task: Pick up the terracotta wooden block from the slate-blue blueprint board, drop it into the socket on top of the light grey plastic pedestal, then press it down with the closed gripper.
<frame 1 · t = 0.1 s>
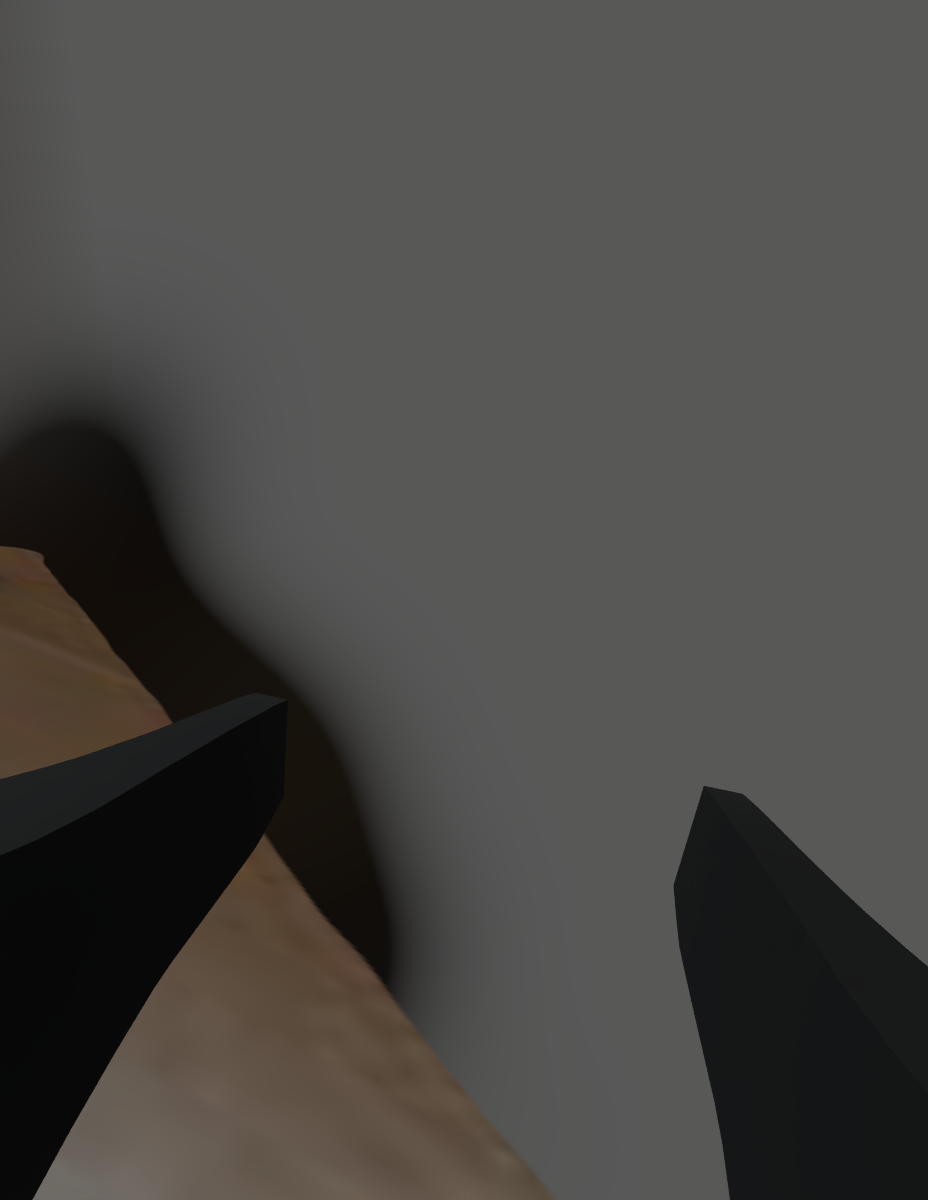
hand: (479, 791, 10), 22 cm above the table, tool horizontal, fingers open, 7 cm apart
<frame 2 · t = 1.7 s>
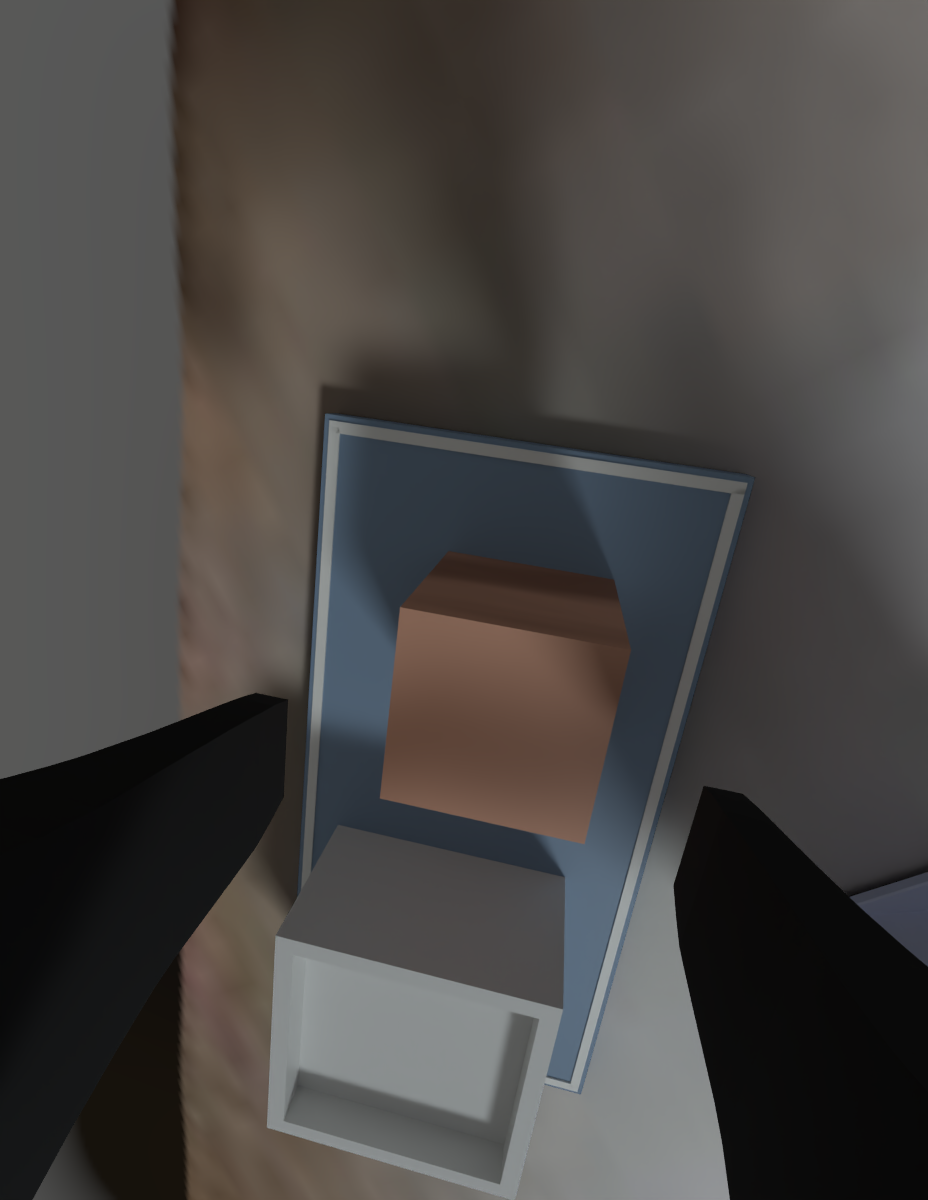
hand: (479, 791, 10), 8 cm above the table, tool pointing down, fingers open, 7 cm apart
blueprint board: (475, 789, 20), on the table
socket pedestal: (435, 939, 21), resting on blueprint board
terracotta block: (516, 641, 17), point 1 cm above the table, touching blueprint board
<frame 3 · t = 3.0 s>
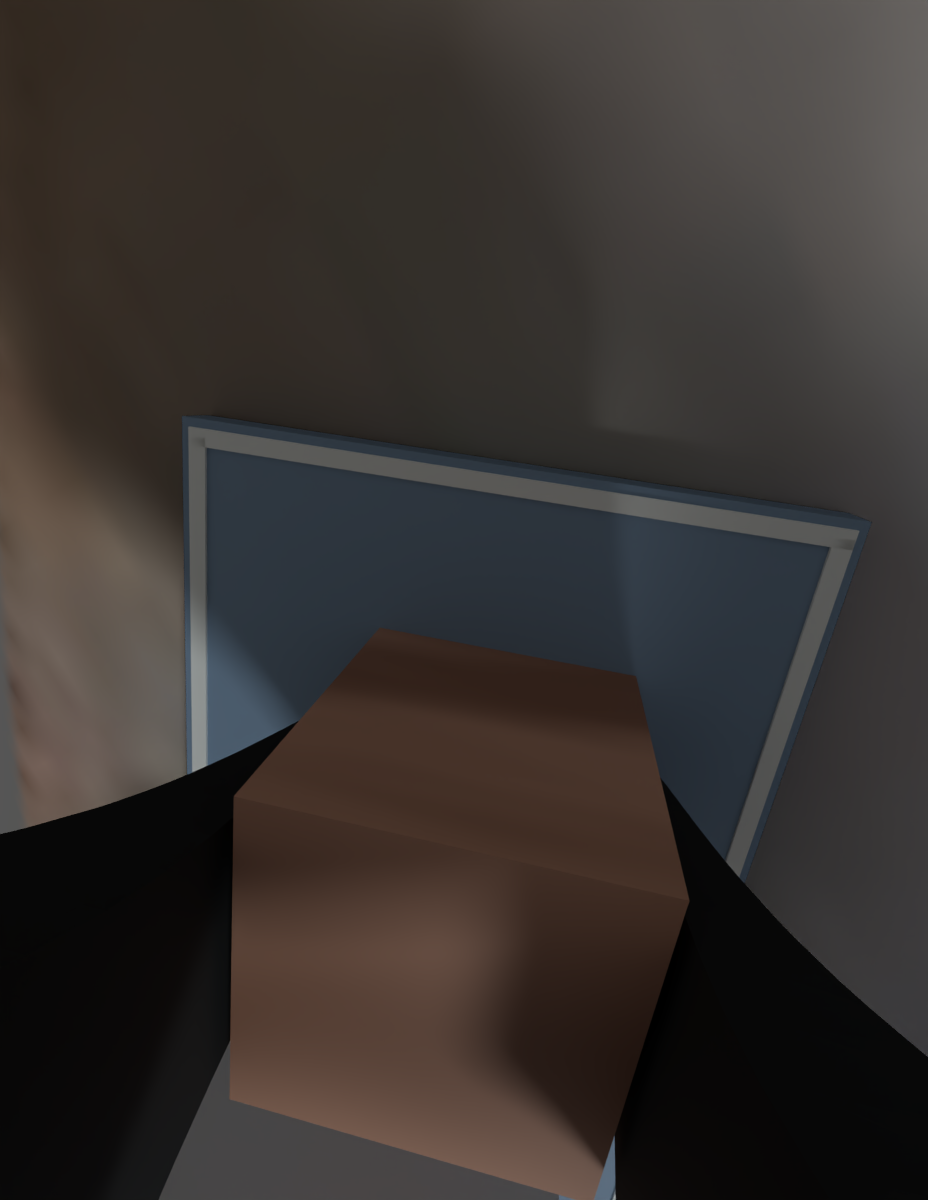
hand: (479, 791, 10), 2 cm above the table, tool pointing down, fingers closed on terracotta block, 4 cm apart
blueprint board: (433, 950, 14), on the table
socket pedestal: (380, 1145, 15), resting on blueprint board
terracotta block: (486, 762, 11), point 1 cm above the table, touching blueprint board, gripper
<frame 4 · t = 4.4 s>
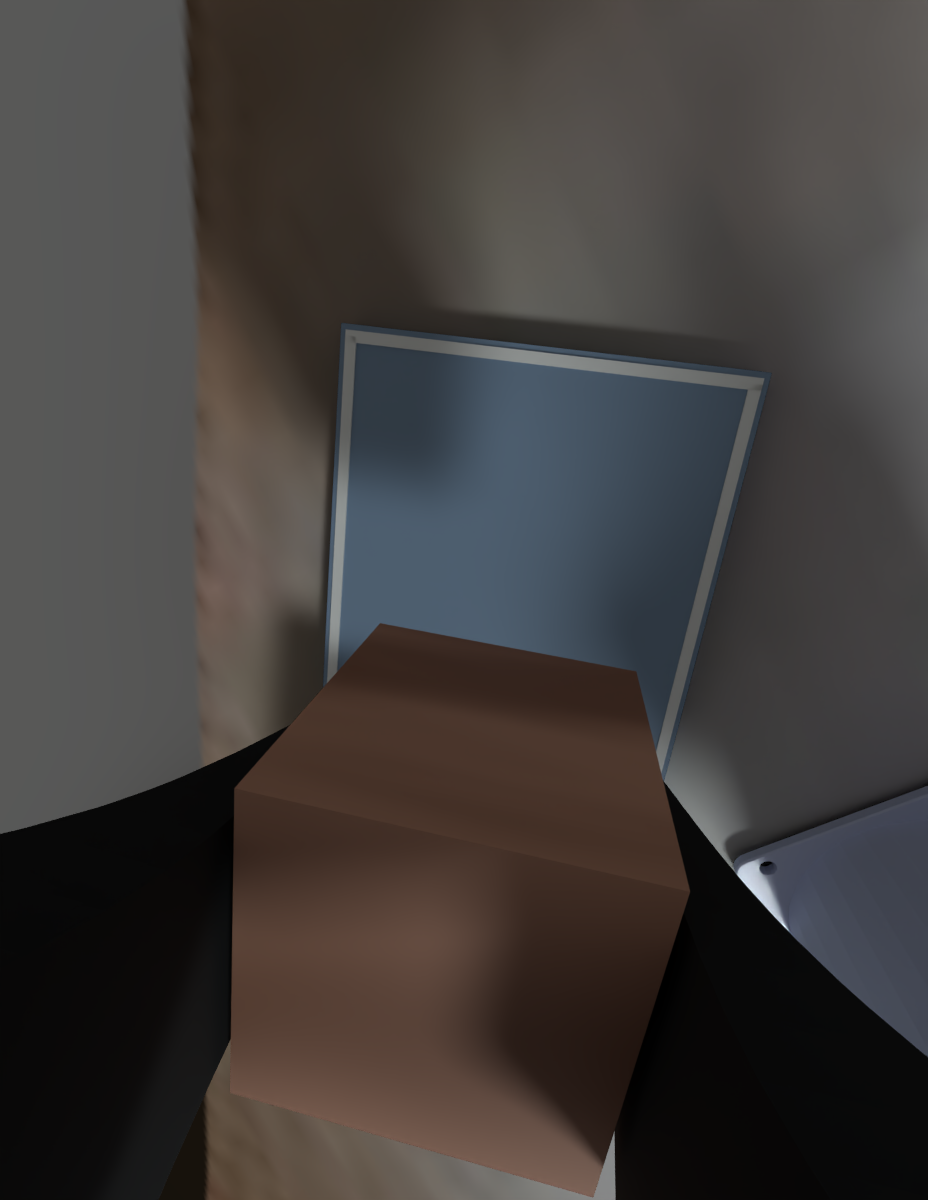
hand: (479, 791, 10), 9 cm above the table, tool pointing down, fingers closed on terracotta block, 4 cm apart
blueprint board: (493, 712, 20), on the table
terracotta block: (486, 757, 11), point 8 cm above the table, touching gripper
when the fingers open (7 cm above the table, at t = 5.8 s): terracotta block drops 1 cm, resting on socket pedestal.
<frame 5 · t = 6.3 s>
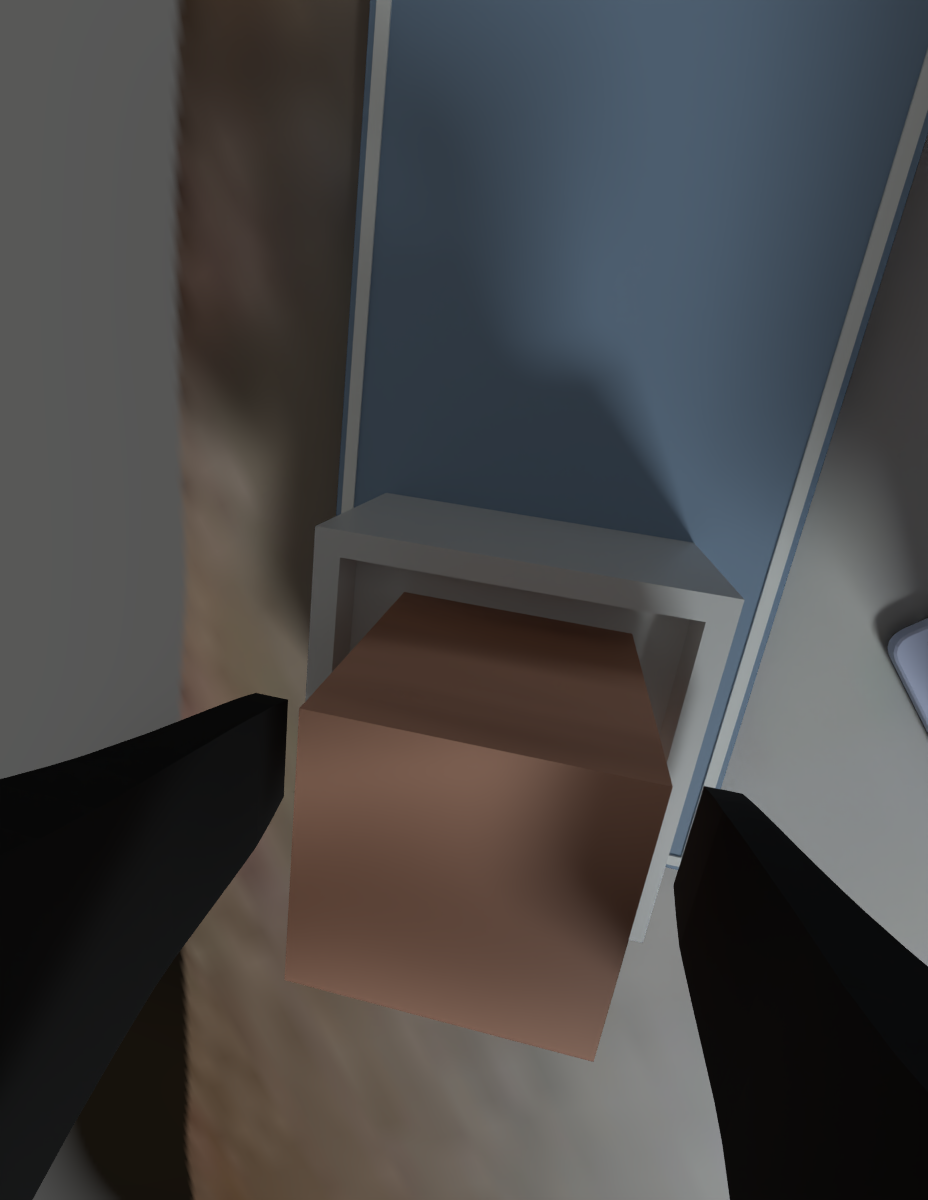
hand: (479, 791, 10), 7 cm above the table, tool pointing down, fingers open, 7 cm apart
blueprint board: (570, 438, 15), on the table
socket pedestal: (511, 657, 16), resting on blueprint board
terracotta block: (498, 713, 13), point 4 cm above the table, touching socket pedestal
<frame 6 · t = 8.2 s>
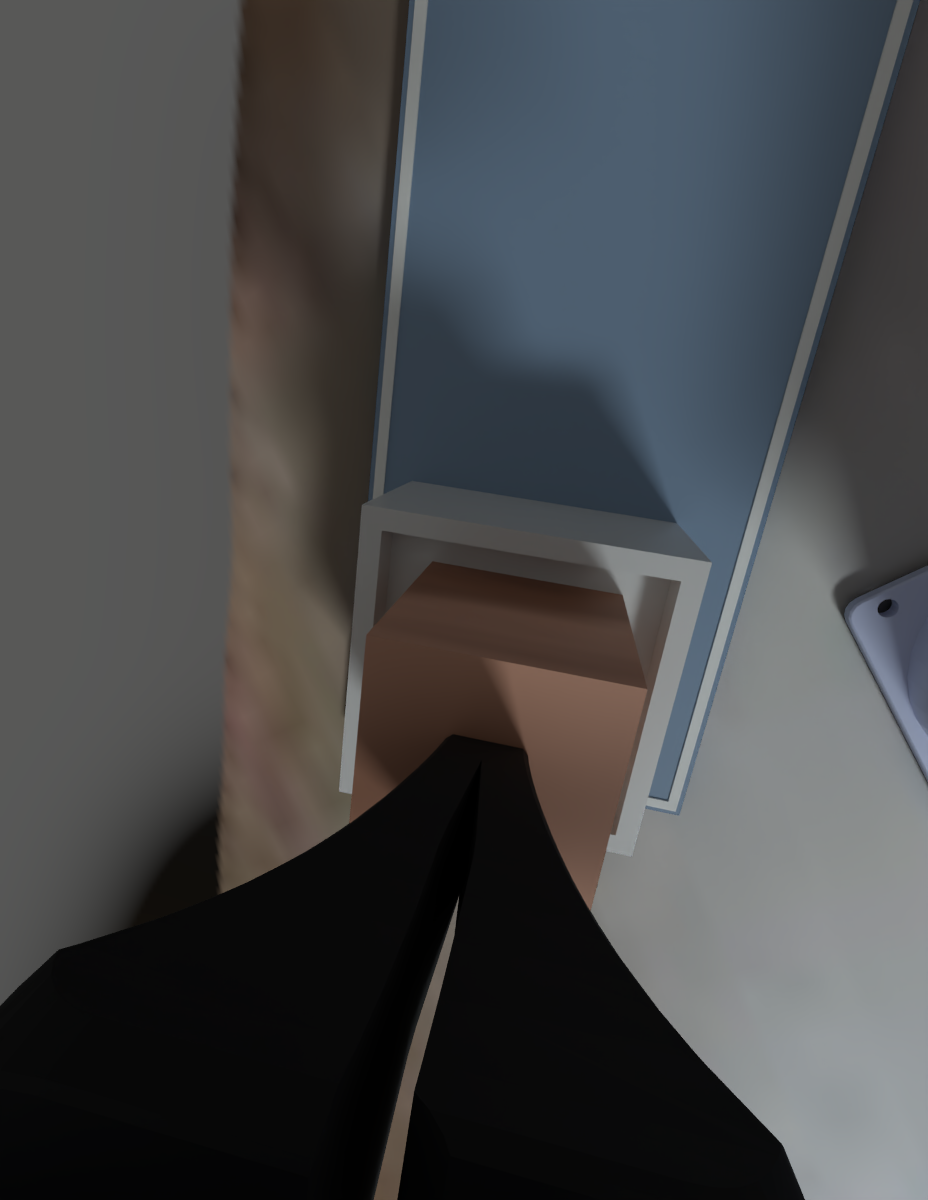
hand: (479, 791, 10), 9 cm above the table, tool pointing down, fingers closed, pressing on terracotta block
blueprint board: (571, 434, 17), on the table
socket pedestal: (519, 624, 18), resting on blueprint board
terracotta block: (510, 664, 15), point 4 cm above the table, touching gripper, socket pedestal
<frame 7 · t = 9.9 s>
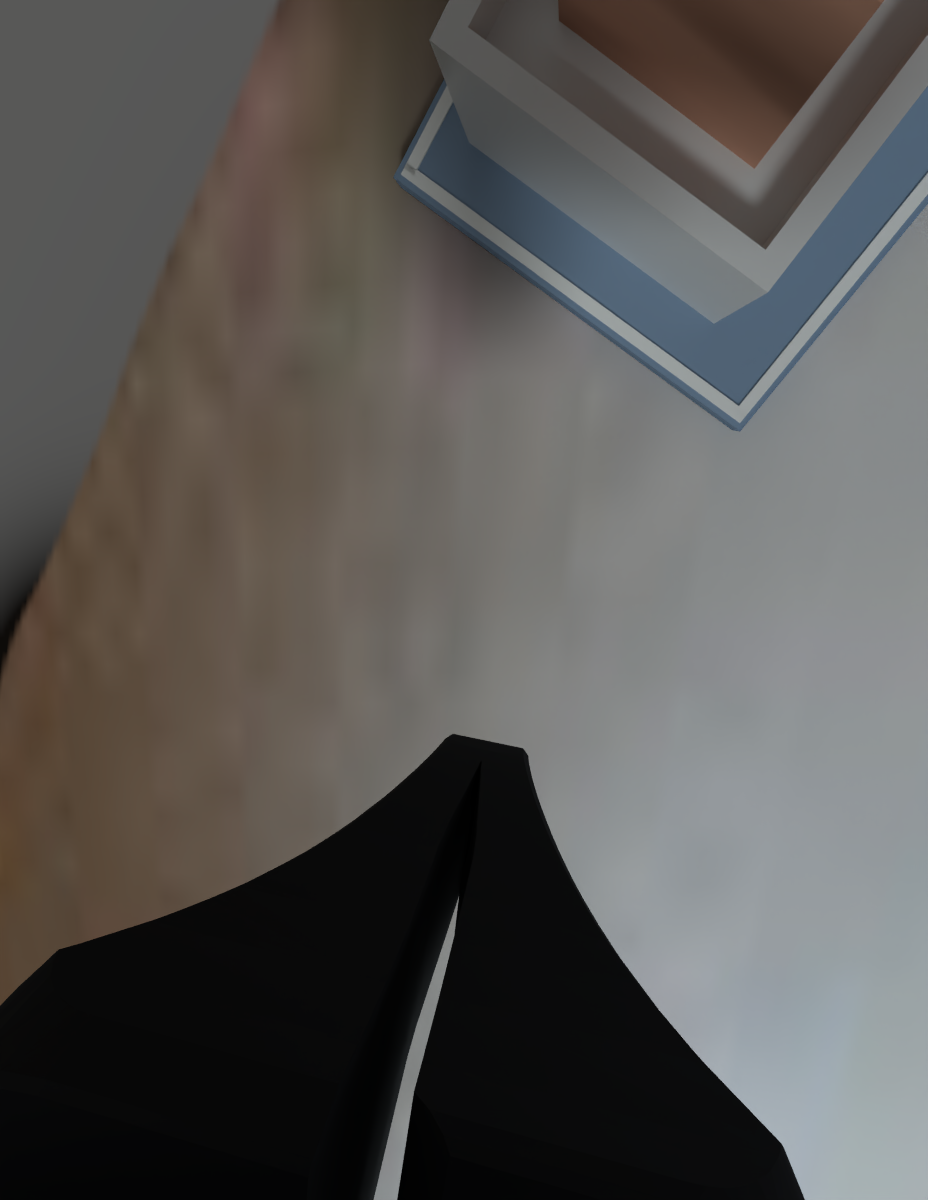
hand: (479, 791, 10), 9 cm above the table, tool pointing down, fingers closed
socket pedestal: (695, 75, 14), resting on blueprint board
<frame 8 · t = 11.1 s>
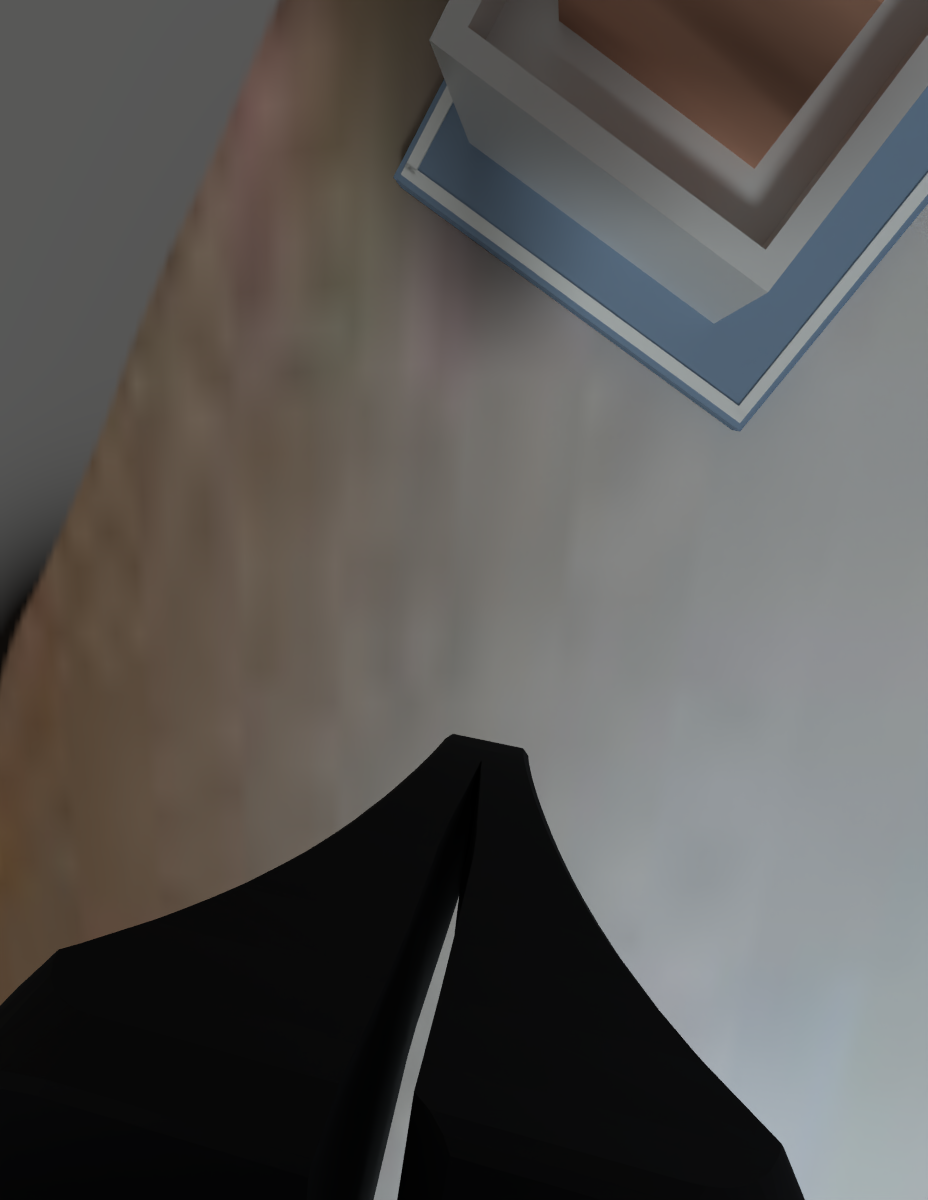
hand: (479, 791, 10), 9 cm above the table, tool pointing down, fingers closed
socket pedestal: (695, 75, 14), resting on blueprint board
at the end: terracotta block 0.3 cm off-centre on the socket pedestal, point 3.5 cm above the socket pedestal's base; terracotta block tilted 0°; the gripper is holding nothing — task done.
